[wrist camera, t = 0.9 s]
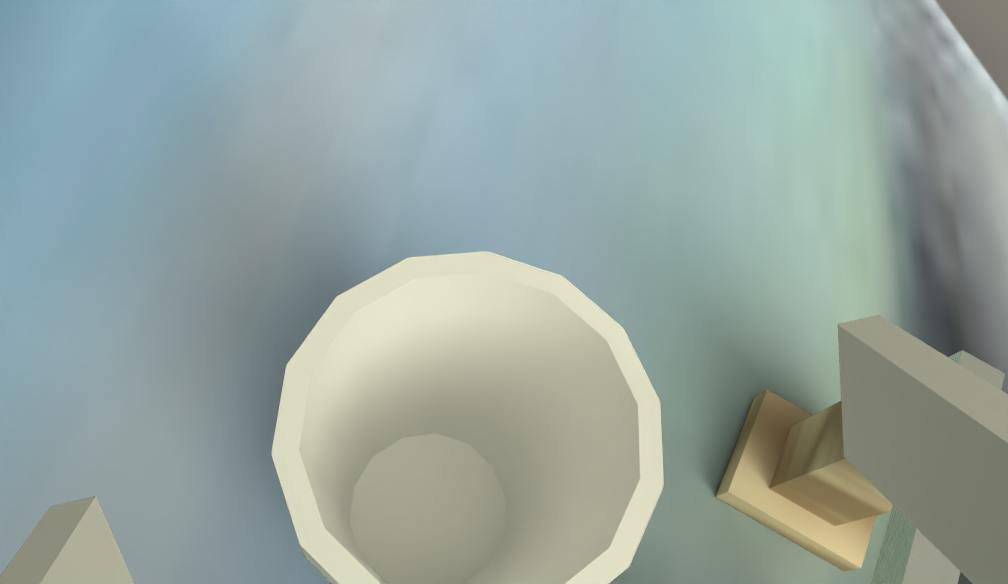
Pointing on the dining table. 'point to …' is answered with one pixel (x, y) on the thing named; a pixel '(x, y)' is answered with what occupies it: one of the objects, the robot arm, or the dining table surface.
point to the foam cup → (468, 430)
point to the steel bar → (905, 550)
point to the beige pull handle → (802, 481)
